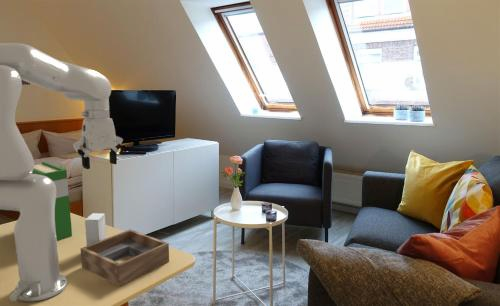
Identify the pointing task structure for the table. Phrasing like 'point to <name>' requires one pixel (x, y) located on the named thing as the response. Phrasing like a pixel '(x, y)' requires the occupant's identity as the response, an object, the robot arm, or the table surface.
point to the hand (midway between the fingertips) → (100, 166)
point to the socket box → (118, 246)
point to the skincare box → (95, 228)
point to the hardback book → (58, 197)
